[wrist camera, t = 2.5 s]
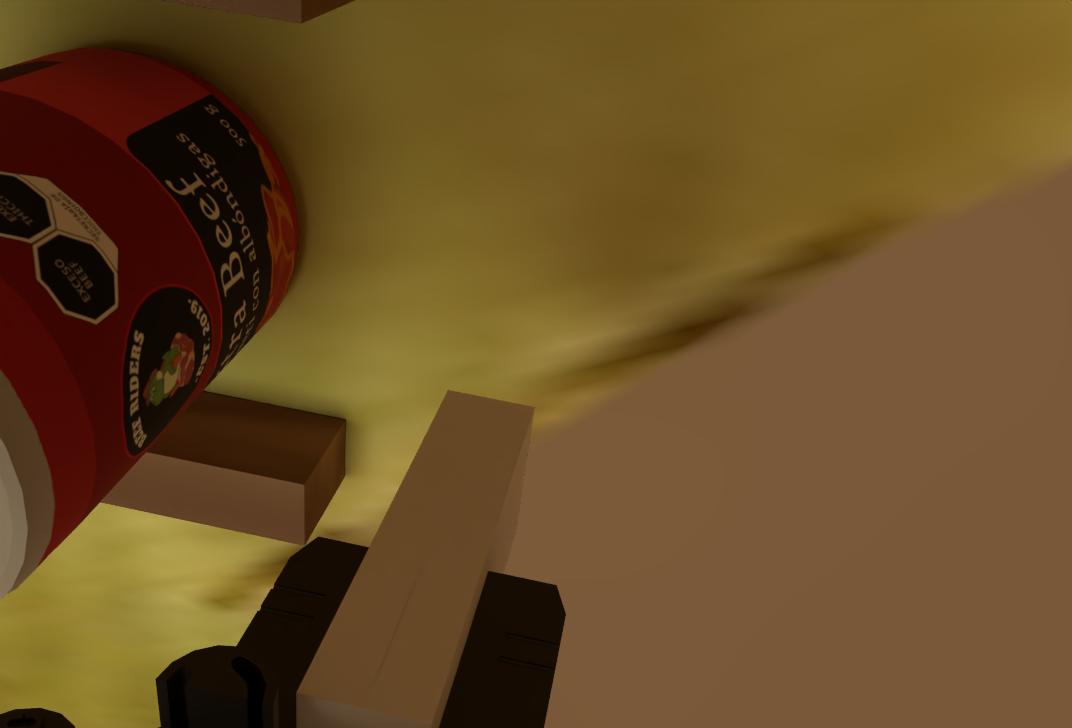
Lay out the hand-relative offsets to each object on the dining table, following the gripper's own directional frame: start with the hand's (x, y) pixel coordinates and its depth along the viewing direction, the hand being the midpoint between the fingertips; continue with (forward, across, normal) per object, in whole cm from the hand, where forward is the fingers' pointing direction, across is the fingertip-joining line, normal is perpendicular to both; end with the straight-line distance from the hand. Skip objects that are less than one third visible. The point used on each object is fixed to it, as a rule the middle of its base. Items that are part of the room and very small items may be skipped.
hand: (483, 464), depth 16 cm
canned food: (+8, -10, 0) cm, 13 cm away
